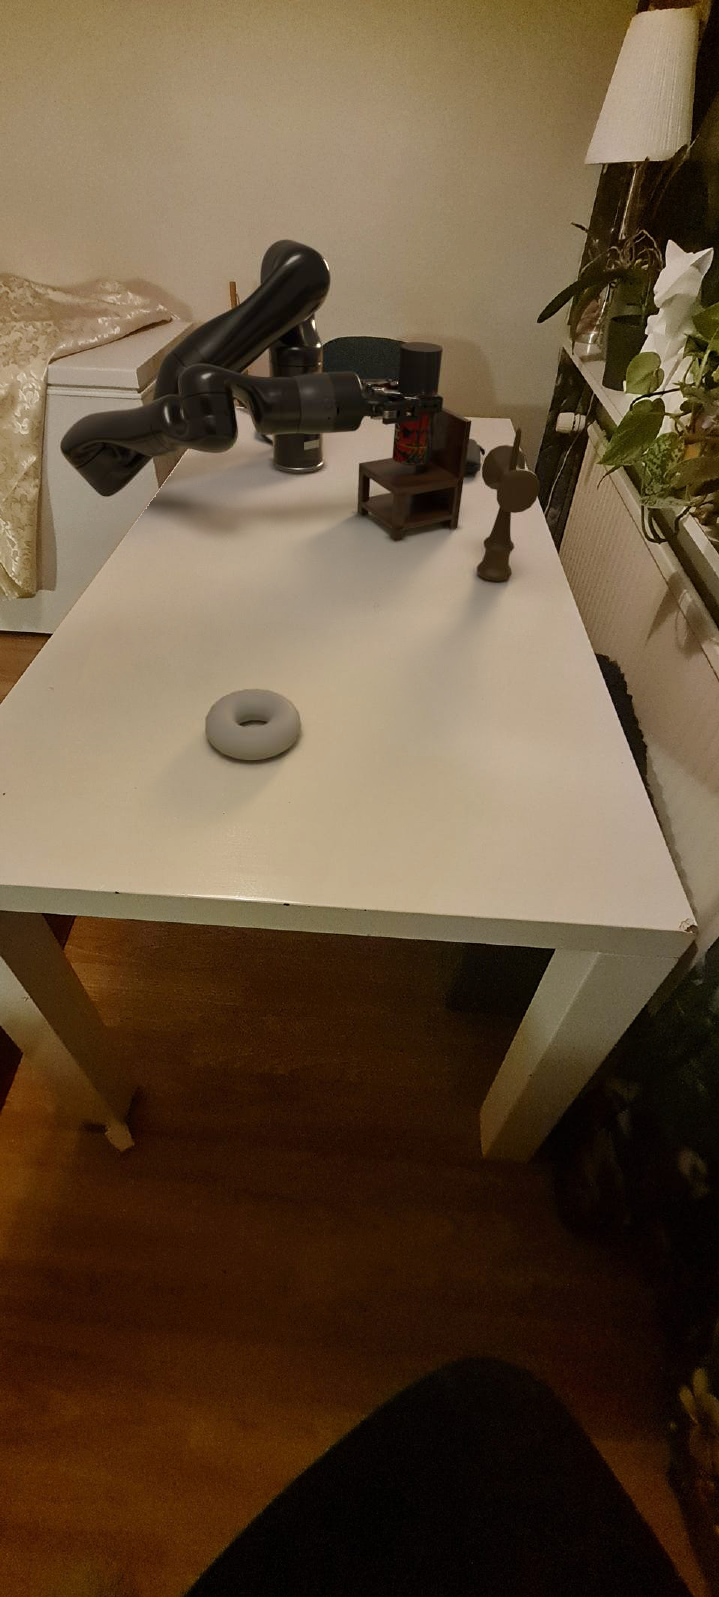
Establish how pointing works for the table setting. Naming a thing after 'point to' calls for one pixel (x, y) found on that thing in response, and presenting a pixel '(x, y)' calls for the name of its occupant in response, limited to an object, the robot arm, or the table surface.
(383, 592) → the table surface
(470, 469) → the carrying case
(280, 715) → the donut
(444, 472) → the miniature wooden chair
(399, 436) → the deodorant
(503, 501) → the kendama
